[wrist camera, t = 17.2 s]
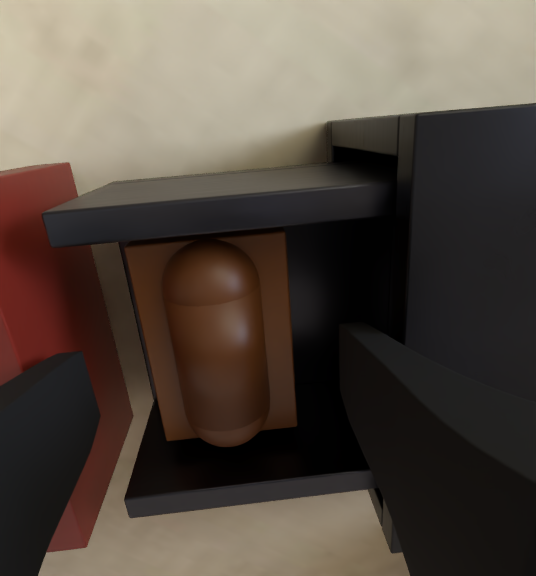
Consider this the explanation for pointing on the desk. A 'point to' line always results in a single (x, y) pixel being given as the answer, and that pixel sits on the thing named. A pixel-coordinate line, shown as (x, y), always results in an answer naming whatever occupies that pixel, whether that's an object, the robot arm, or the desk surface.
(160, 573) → the desk surface
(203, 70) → the desk surface
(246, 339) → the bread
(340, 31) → the desk surface
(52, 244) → the drawer
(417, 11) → the desk surface
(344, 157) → the black rectangular box
